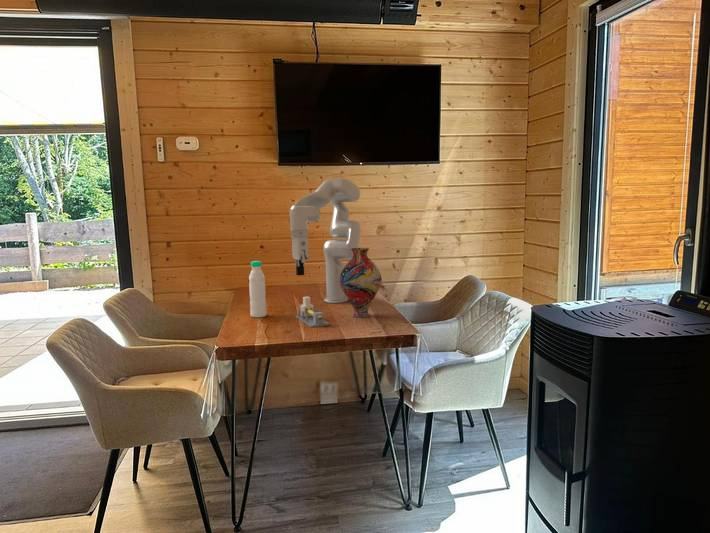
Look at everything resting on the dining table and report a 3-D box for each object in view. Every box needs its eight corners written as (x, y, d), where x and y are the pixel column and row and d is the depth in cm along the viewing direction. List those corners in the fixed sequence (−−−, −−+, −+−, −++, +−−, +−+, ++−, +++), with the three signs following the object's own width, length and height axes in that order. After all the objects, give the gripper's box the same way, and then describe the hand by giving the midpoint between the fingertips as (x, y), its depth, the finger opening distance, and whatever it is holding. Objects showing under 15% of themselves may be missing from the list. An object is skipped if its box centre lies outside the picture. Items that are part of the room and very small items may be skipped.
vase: (344, 321, 204) (342, 251, 200) (336, 312, 223) (335, 247, 219) (387, 318, 208) (386, 249, 204) (376, 309, 226) (375, 246, 222)
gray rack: (295, 317, 214) (295, 305, 213) (312, 315, 217) (312, 304, 216) (311, 327, 196) (310, 314, 195) (329, 325, 199) (329, 312, 199)
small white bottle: (300, 315, 213) (300, 297, 212) (310, 313, 214) (310, 296, 213) (303, 316, 209) (303, 298, 208) (313, 315, 211) (313, 297, 210)
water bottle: (269, 315, 219) (267, 260, 216) (259, 318, 213) (256, 262, 210) (257, 313, 223) (255, 260, 219) (247, 316, 217) (244, 261, 213)
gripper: (313, 234, 208) (313, 276, 210) (301, 233, 222) (302, 272, 224) (296, 234, 205) (297, 277, 207) (286, 233, 218) (287, 273, 221)
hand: (300, 274), depth 215 cm, fingers closed
